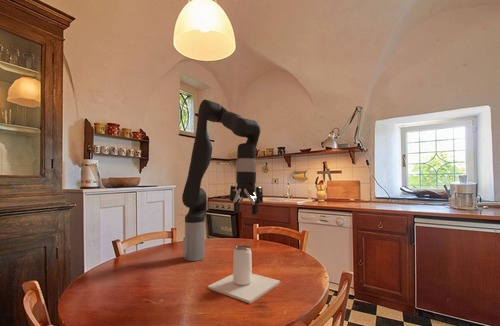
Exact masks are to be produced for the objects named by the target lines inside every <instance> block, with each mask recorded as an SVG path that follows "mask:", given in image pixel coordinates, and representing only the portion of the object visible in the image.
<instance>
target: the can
mask: <svg viewBox="0 0 500 326" xmlns="http://www.w3.org/2000/svg"><path fill="white" fill-rule="evenodd" d="M232 254H233V257H232V258H233V260H232V261H233V262H232V263H233V266H232V267H233V268H232V270H233V273H232V274H233V282H234V283H235V284H236V285H241V286H243V285H248V284H250V283H251V279H252V273H253V272H252V267H253V266H252V263H253V262H252V259H253V258H252V250H251V246H249V245H243V244H242V245H235V246H234V250H233V253H232Z"/></svg>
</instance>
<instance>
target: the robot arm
mask: <svg viewBox="0 0 500 326" xmlns="http://www.w3.org/2000/svg"><path fill="white" fill-rule="evenodd" d="M198 107H199V108H198V110H197V111H198V112H197V121H196V129H195V131H196V132H195V135H194V136H195V137H194V141H193V147H192V150H191V157H190V163H189V167H188V172H187V177H186V178H187V179H186V181H185V185H184V188H183V192H182V196H181V198H182V199H181V200H182V204H183V206H185V207H186V208H188V212H187V213H186V215H185V216H184V237H183V241H182V242H183V244H182V245H183V246H182V247H183V248H182V249H183V252H182V253H183V254H182V258H183V259H184V261H187V262H196V261H197V262H198V261H201V260H204V259H205V238H206V237H205V235H206V234H205V232H206V231H205V221H206V219H205V217H206V215H207V207H208V206H207V205H208V201H207V200H208V198H207V197H208V196H207V192H206V191H205V190H204V189H203V188H202V187H201V185H202V180H203V178H204V175H205V173H206V172H207V169H208V168H209V166H210V163H211V159H212V154H213V146H212V142H211V139H210V136H209V133H208V129H207V127H208V121H209V122H212V123H217V124H218V123H220V124H222V125H223V127H225V128H226V129H228V130H230V131H231V132H232V133H233V134H234V135H235V136H237V137H241V138H246V142H242V143H240V144H238V145H237V154H236V156H237V157H236V158H237V159H236V166H235V167H236V170H235V171H236V175H235V176H236V177H235V178H236V179H235V183H236V185H230V192H229V193H230V194H229V200H230V201H231V202H233V211H234V213H235V214H237V213H240V208H241V207H240V201H241V199H243V198H245V199H249V201H250V202H251V216H257V214H258V213H259V205H260V204H263V203H264V200H263V199H264V197H263V187H262V186H256V184H257V161H256V160H257V157H256V156H257V153H256V152H257V151H256V150H257V146H258V142H259V138H260V135H261V125H260V124H259V122H258V121H257V120H255V119H249V118H244V117H242V116H241V115H239V114H238V113H236V112H233V111H228V110H227V109H226V108H225V107H224V106H223V105H221V104H219V103H217V102H214V101H212V100H209V99H203V100H202V101H201V102H200V104H199V106H198Z"/></svg>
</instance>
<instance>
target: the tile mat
mask: <svg viewBox="0 0 500 326" xmlns="http://www.w3.org/2000/svg"><path fill="white" fill-rule="evenodd" d="M280 284H281V280H278V279H275V278H271V277H267V276H262V275H260V274H257V273H253V272H252V279H251V283H250V284H248V285H243V286H241V285H236V284H235V283H234V282H233V273H232V274H230V275H228V276H226V277H223V278H221V279H220V280H217V281H216V282H214V283H211V284H209V285H208V286H207V289H208V290H212V291H214V292H217V293H219V294H222V295H226V296H228V297H231V298H232V299H233V298H234V299H236V300H239V301H241V302H244V303H248V304H253V302H255V301H257V300H258V299H260V298H261V297H262V296H264V295H265V294H267V293H269V292H270V291H271V290H273V289H274V288H275V287H277V286H278V285H280Z"/></svg>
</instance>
